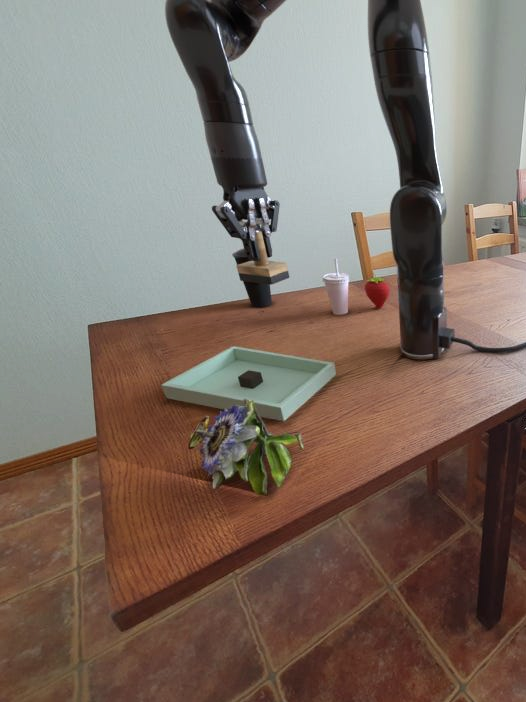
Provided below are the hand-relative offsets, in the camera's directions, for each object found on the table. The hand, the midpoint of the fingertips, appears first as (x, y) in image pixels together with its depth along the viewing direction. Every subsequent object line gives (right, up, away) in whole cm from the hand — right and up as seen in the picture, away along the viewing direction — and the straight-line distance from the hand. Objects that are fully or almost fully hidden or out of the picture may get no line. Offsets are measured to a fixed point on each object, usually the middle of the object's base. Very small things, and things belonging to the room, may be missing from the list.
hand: (260, 258), depth 71 cm
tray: (+3, -25, -5) cm, 25 cm away
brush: (0, -4, +2) cm, 4 cm away
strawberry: (+14, -5, +31) cm, 35 cm away
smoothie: (+5, -7, +28) cm, 29 cm away
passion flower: (+12, -34, -21) cm, 42 cm away
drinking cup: (-17, -5, +29) cm, 34 cm away
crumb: (+2, -24, -6) cm, 24 cm away
